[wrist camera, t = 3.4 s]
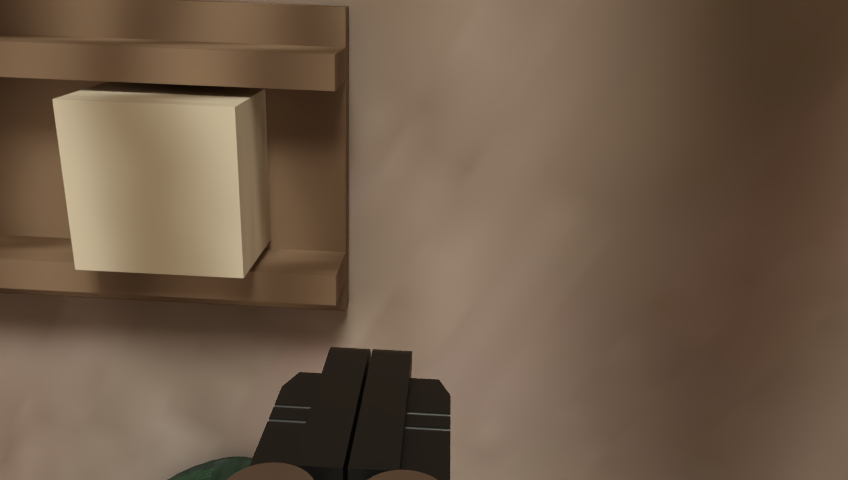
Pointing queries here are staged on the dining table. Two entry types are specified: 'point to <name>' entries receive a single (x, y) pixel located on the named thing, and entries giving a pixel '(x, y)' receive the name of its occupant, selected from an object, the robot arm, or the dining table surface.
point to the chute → (180, 65)
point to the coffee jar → (215, 469)
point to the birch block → (165, 177)
